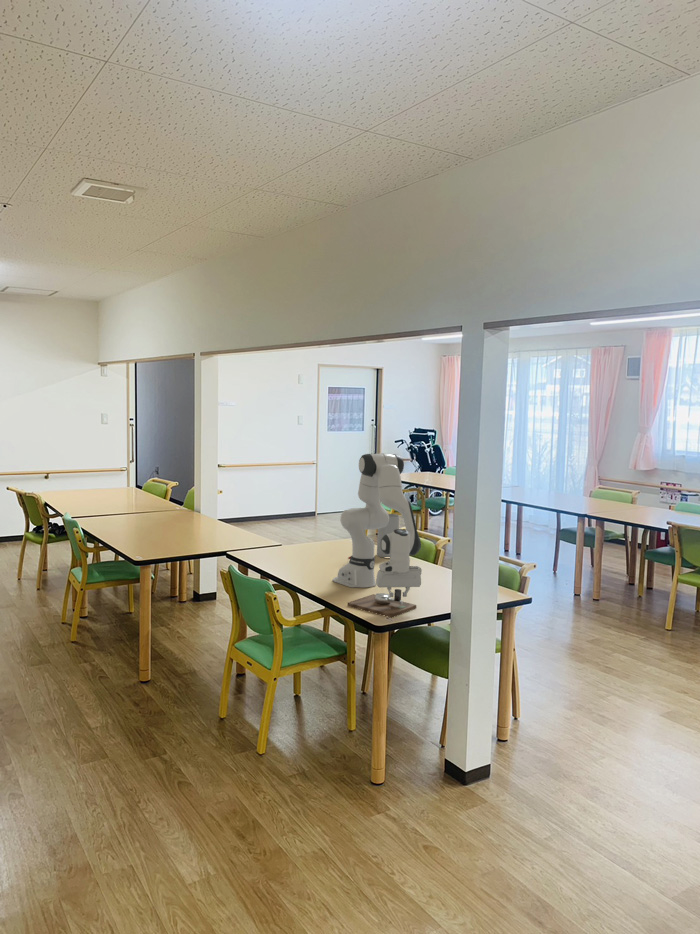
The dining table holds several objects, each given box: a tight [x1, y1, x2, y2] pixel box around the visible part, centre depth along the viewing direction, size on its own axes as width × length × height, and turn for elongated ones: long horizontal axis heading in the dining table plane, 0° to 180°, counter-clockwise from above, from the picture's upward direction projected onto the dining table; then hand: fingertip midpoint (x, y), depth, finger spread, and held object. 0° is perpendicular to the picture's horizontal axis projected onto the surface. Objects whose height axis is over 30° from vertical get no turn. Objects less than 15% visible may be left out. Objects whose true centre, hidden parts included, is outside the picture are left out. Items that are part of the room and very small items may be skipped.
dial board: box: [347, 594, 417, 619], centre depth 311 cm, size 24×20×2 cm
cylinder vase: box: [376, 513, 400, 558], centre depth 415 cm, size 12×12×25 cm
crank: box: [375, 588, 404, 605], centre depth 311 cm, size 14×7×7 cm, turn 50°
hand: (397, 596), depth 308 cm, fingers open, 5 cm apart
